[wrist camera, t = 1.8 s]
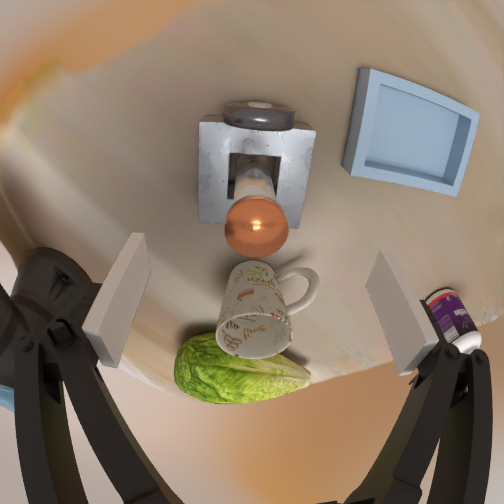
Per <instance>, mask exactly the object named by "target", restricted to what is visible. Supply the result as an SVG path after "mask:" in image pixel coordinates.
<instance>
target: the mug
mask: <svg viewBox="0 0 504 504" xmlns="http://www.w3.org/2000/svg"><path fill="white" fill-rule="evenodd" d="M294 275H302V276H304V277H306V278H307V279H308V281H309V287H308V290H307V292H306V294H305V295H304V296H303V298H301V299H300V300H299V301H297V302H295V303H293V304H290V305H288V306H285V303H284V300H283V297H282V293H281V290H280V287H279V284H278V282H281V281H283V280H285V279H287V278H290V277H292V276H294ZM318 289H319V277H318V275H317V273H316V272H315V271H314V270H312V269H310V268H293V269H291V270H289V271H287V272H285V273H283V274H282V275H280V276H279V277H278V278H276V275H275V272H274V270H273V269H272V268H271V267H270V266H269V265H268V264H266V263H264V262H261V261H256V260H250V261H245V262H242V263H240V264H238V265H237V266H235V267H234V269H233V270H232V271H231V274H230V277H229V280H228V284H227V288H226V292H225V296H224V300H223V304H222V308H221V312H220V316H219V319H218V323H217V328H216V335H215V336H216V341H217V343H218V345H219V346H220V347H221V348H222V349H223V350H224V351H225V352H227V353H229V354H231V355H233V356H236V357H239V358H245V359H262V358H267V357H271V356H274V355H276V354H278V353H280V352H282V351H283V350H285V349H286V348H287V347H288V346H289V345H290V343H291V341H292V339H293V329H292V325H291V322H290V318H289V316H290V315H292V314H294V313H296V312H298V311H300V310H302V309H304V308H306V307H307V306H308V305H310V303H311V302H312V301H313V300H314V298H315V296H316V294H317V292H318Z"/></svg>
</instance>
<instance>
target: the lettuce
mask: <svg viewBox="0 0 504 504" xmlns="http://www.w3.org/2000/svg"><path fill="white" fill-rule="evenodd" d="M215 335H216V333H215V332H209V333H205V334H201V335H196V336H193V337H192V338H190V339H189V340H188V341H186V342H185V343H184V344H183V345H182V346H181V348H180V349H179V350H178V353H177V356H176V359H175V364H174V379H175V383H176V384H177V385H178V387H179V388H180V390H181V391H183V392H185V393H187V394H189V395H190V396H192V397H194V398H196V399H198V400H201V401H203V402H209V403H214V404H244V403H249V402H254V401H260V400H265V399H270V398H274V397H278V396H281V395H284V394H287V393H290V392H292V391H295V390H298V389H302V388H305V387H307V386H308V385H309V384H310V382H311V378H312V375H311V373H310V371H308V370H307V369H305V368H303V367H302V366H300V365H298V364H296V363H295V362H293V361H291V360H290V359H288V358H286V357H284V356H283V355H281V354H276V355H274V356H271V357H267V358H262V359H245V358H239V357H236V356H233V355H231V354H229V353H227V352H225V351H224V350H223V349H222V348H221V347H220V346H219V345H218V343H217V341H216V336H215Z"/></svg>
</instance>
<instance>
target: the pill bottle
mask: <svg viewBox="0 0 504 504" xmlns="http://www.w3.org/2000/svg"><path fill="white" fill-rule="evenodd" d="M426 304H427V305H428V306H429V307H430V309H431V311H432V312H433V316H435V318H436V322H438V324H439V326H440V328H441V330H442V332H443V334H444V336H445V338H446V340H447V342H448V343H452V344H454V345H455V346H457V347H458V349H459V350H460V353H465V354H471V353H472V351H473V350H474V349H478V348H479V346H480V344H481V335H480V333H479V331H478V329H477V327H476V326H475V324H474V322H473V320H472V319H471V317H470V315H469V314H468V312H467V310H466V309H465V307H464V305H463V304H462V302H461V300H460V299H459V297H458V296H457V294H456V293H455V292H454V291H453V290H450V289H444V290H440V291H438V292H436V293H435V294H433V295H432V296H431V297H430V298H429V299H428V300H427V301H426Z"/></svg>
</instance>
